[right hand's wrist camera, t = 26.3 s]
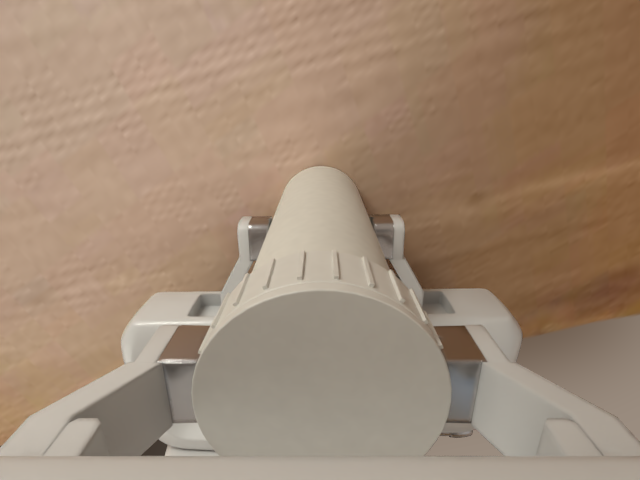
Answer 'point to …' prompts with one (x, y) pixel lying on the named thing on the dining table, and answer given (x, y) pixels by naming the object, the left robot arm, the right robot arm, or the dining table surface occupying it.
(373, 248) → the jar
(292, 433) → the lid
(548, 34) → the dining table surface
